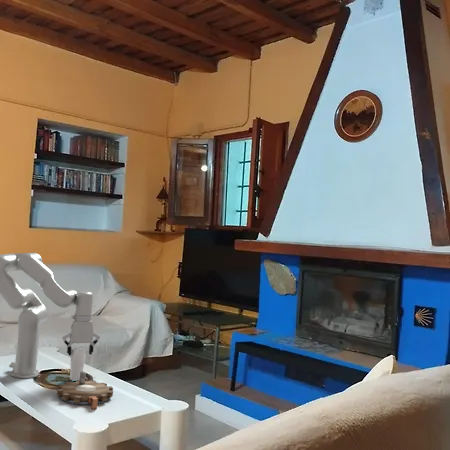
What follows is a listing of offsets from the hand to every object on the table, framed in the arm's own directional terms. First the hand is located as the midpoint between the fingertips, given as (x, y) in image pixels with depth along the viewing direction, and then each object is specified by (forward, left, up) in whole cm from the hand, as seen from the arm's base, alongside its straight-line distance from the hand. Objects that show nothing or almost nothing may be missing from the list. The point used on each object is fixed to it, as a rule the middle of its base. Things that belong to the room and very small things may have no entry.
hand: (80, 354), depth 245 cm
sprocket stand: (+15, -15, -12) cm, 25 cm away
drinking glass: (-1, 0, -13) cm, 13 cm away
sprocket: (+15, -15, -11) cm, 24 cm away
